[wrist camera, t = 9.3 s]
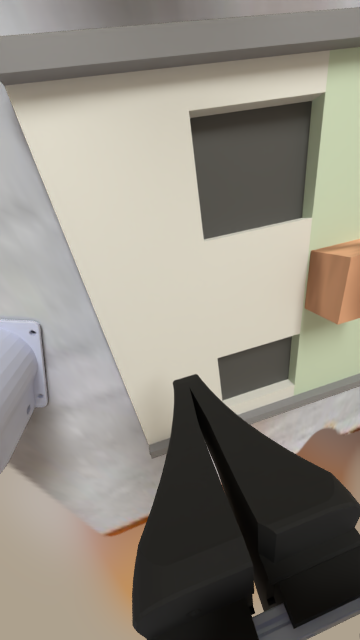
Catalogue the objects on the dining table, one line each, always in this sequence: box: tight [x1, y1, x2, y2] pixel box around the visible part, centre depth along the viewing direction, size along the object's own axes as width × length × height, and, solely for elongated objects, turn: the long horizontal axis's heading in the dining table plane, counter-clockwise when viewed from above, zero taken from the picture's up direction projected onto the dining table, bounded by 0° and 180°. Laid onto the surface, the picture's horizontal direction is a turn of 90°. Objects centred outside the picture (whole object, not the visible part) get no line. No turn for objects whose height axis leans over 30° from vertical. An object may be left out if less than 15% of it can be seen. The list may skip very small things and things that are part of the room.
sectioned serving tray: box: [0, 7, 360, 458], centre depth 21 cm, size 35×34×2 cm
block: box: [305, 239, 360, 325], centre depth 20 cm, size 6×6×4 cm
